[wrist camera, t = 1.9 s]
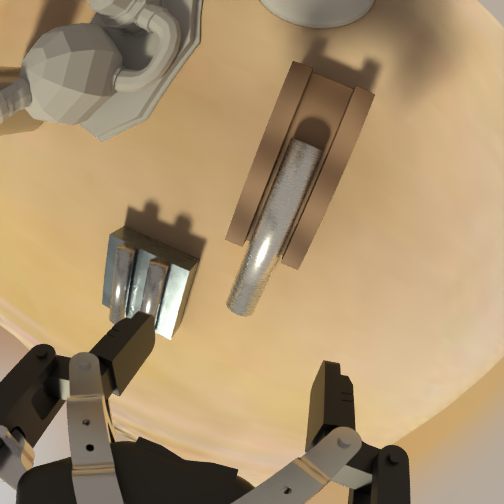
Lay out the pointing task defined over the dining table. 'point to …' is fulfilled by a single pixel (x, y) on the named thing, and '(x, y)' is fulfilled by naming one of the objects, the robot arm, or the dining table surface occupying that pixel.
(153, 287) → the V-block
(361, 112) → the grooved beam
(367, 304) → the dining table surface
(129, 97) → the grey faceted sculpture
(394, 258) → the dining table surface
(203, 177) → the dining table surface
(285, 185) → the axle
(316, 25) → the chalice
